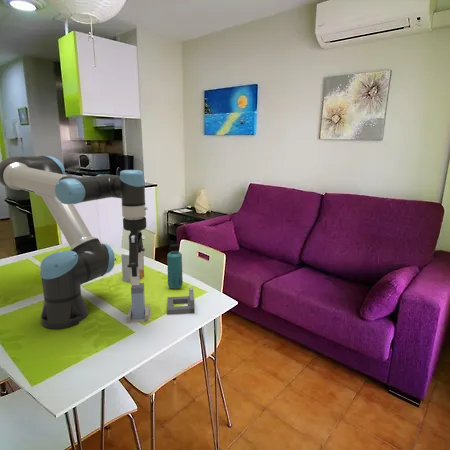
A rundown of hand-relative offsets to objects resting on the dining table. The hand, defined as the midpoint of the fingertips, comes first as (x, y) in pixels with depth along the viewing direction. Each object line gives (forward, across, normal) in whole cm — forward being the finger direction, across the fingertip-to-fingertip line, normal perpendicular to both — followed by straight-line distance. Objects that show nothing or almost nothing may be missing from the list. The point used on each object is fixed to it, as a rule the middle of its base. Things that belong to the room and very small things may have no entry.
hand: (137, 276), depth 112 cm
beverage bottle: (+16, +23, -13) cm, 31 cm away
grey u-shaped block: (+16, 0, 0) cm, 16 cm away
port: (+16, +5, -15) cm, 23 cm away
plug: (+16, 0, 0) cm, 16 cm away
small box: (+16, +35, +6) cm, 39 cm away
